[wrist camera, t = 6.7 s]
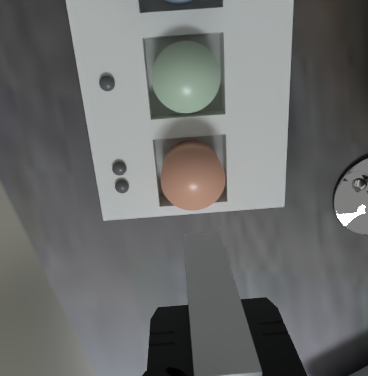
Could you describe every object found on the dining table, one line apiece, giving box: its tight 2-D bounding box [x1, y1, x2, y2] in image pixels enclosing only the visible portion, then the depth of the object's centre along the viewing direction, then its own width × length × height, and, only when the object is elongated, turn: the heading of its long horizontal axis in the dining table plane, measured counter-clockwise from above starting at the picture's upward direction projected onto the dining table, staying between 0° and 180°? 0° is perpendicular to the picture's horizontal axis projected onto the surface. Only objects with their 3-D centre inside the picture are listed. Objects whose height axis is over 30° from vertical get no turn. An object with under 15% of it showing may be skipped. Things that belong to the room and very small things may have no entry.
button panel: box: [66, 0, 294, 221], centre depth 23 cm, size 20×14×3 cm
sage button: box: [152, 41, 221, 113], centre depth 23 cm, size 4×4×3 cm
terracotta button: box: [161, 140, 225, 211], centre depth 24 cm, size 4×4×3 cm
